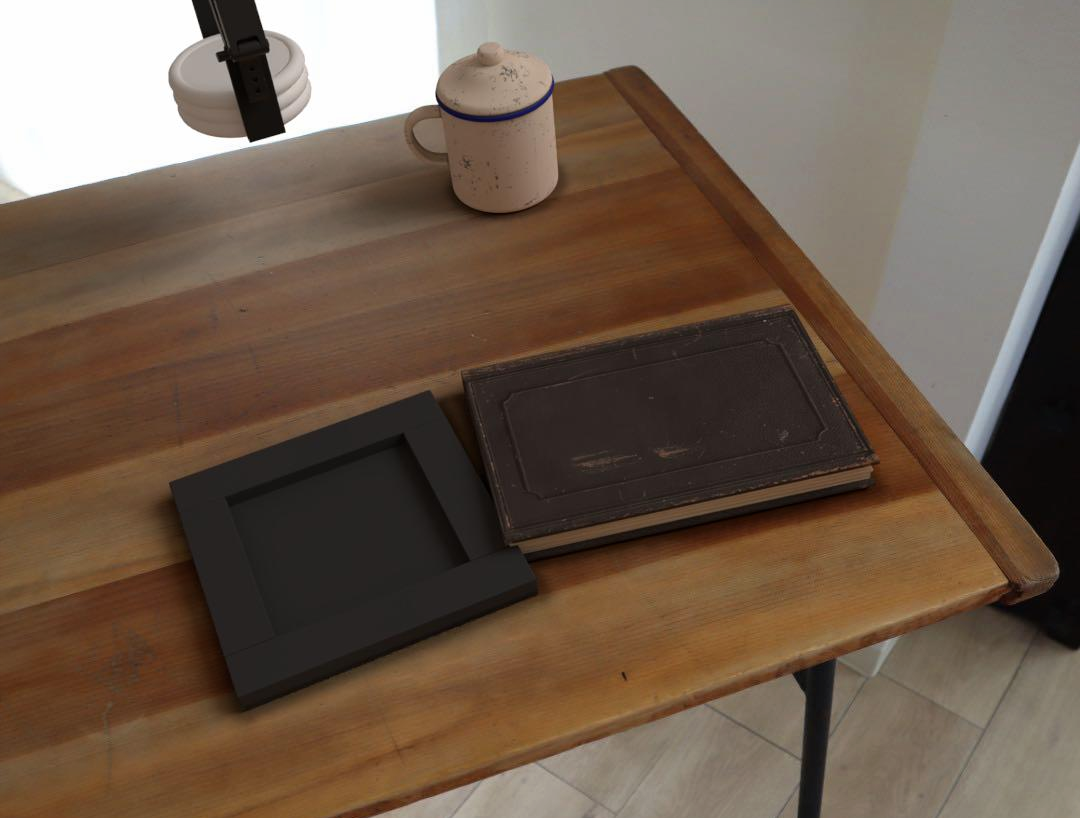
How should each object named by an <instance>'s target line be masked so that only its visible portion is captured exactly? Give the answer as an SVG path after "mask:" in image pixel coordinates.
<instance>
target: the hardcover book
mask: <svg viewBox="0 0 1080 818" xmlns="http://www.w3.org/2000/svg"><path fill="white" fill-rule="evenodd" d="M460 377H461V382H462V387H463V388H462V389H463V392H464V397H465V400H466V404H467V407H468V412H469V417H470V421H471V424H472V427H473V433H474V436H475V441H476V444H477V448H478V451H479V456H480V461H481V463H482V468H483V471H484V475H485V479H486V483H487V488H488V492H489V495H490V496H491V498H492V500H493V502H494V504H495V508H496V512H497V516H498V519H499V523H500V527H501V531H502V535H503V539H504V543H505V545H510V547H511V546H515V545H518V546H519V548H520V550H521V552H522V553H523V555H524V557H525V559H526V560H527V562H530V561H534V560H540V559H544V558H545V559H546V558H550V557H553V556H558V555H563V554H567V553H572V552H576V551H581V550H585V549H590V548H594V547H595V548H596V547H600V546H604V545H609V544H614V543H617V542H622V541H626V540H631V539H636V538H642V537H645V536H650V535H655V534H659V533H663V532H664V533H665V532H668V531H673V530H677V529H683V528H686V527H691V526H696V525H701V524H705V523H709V522H715V521H719V520H723V519H727V518H732V517H737V516H742V515H746V514H750V513H755V512H760V511H763V510H770V509H774V508H778V507H783V506H786V505H792V504H796V503H801V502H805V501H810V500H815V499H820V498H823V497H829V496H833V495H837V494H842V493H847V492H852V491H856V490H860V489H864V488H870V487H874V486H876V484H877V483H876V481H875V479H874V477H873V475H872V472H873V471H874V468H873V467H872V466H877V465H880V463H881V460H880V459H879V457H878V455H877V453H876V451H875V449H874V448H873V446H872V444H871V443H870V441H869V439H868V438H867V437H868V436H867V435H866V434H865V432H864V430H863V429H862V427H861V425H860V423H859V421H858V420H857V418H856V416H855V414H854V413H853V411H852V409H851V407H850V406H849V403H848V402H847V400H846V398H845V397H844V395H843V393H842V391H841V390H840V388H839V386H838V384H837V382H836V381H835V379H834V377H833V376H832V374H831V372H830V370H829V369H828V367H827V365H826V363H825V362H824V359H823V357H822V356H821V354H820V353H819V351H818V349H817V347H816V345H815V344H814V342H813V340H812V338H811V337H810V336H809V333H808V332H807V330H806V328H805V326H804V325H803V322H802V321H801V319H800V317H799V316H798V314H797V312H796V310H795V309H794V306H793V305H792V304H791V303H783V304H779V305H774V306H769V307H765V308H764V307H763V308H760V309H755V310H749V311H746V312H745V311H744V312H739V313H735V314H731V315H724V316H720V317H716V318H715V317H714V318H711V319H706V320H705V319H704V320H702V321H697V322H692V323H686V324H681V325H677V326H672V327H667V328H663V329H657V330H652V331H648V332H643V333H637V334H633V335H632V334H631V335H628V336H624V337H618V338H613V339H609V340H603V341H600V342H595V343H589V344H585V345H580V346H575V347H570V348H565V349H560V350H556V351H550V352H545V353H540V354H536V355H531V356H527V357H521V358H516V359H511V360H506V361H501V362H497V363H491V364H487V365H483V366H477V367H473V368H469V369H468V368H467V369H463V370H461V371H460Z"/></svg>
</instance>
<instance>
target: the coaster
mask: <svg viewBox="0 0 1080 818" xmlns="http://www.w3.org/2000/svg"><path fill="white" fill-rule="evenodd" d="M263 30H264V33H265V37H266V39H268V42H269V45H270V47H269V48H270V51H269V53H266V57H267V61H268V65H269V68H270V72H271V76H272V80H273V84H274V88H275V92H276V95H277V99H278V103H279V107H280V111H281V115H282V119H283V123H284V126H285V125H287V124H289V123H290V122H292V121H293V120H294V119H296V118H297V117H298V116H299V115H300V114H301V113H302V112H303V111H304V109H306V107H307V106H308V104H309V102H310V100H311V97H312V83H311V81H310V79H309V70H308V67H307V66H306V58H305V57H306V56H305V54H304V52H303V50H302V48H301V46H300V45H299V44H298V43H297V41H295V40H293V39H292V38H290V37H288V36H286V35H284V34H282V33H279V32H276V31H272V30H267V29H263ZM223 47H224V43H223V40H222V38H221V35H220V34H216V35H213V36H210V37H207V38H205V39H203V38H202V39H201V40H198V41H196V42H194V43H192V44H191V45H189V46H188V47H186V48H184V50H182V51H181V52H180V53H179V54H178V55H177V56H176V57H175V59H174V60H173V61H172V63H171V65H170V66H169V68H168V73H167V75H168V76H167V78H168V82H167V83H168V85H169V88H170V90H171V91H172V97H173V100H174V103H175V104H176V105H177V112H178V115H179V117H180V119H181V120H182V122H183V123H184V124H185V125H186V126H187V127H189V128H190V129H192V130H193V131H195V132H197V133H200V134H203V135H206V136H209V137H214V138H222V139H239V138H240V139H241V138H247V135H246V131H245V128H244V124H243V121H242V117H241V114H240V110H239V107H238V103H237V100H236V97H235V93H234V90H233V86H232V83H231V79H230V76H229V72H228V69H227V65H226V62H225V61H224V62H220V63H219V62H218V60H217V57H216V55H215V54H216V52H220V51H224V48H223Z"/></svg>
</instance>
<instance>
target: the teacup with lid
mask: <svg viewBox="0 0 1080 818" xmlns="http://www.w3.org/2000/svg"><path fill="white" fill-rule="evenodd" d="M554 90H555V78H554V75H553V74H552V71H551V69H550V67H549V66H548V65H547V64H546V63H545V61H543V60H542V59H541V58H539V57H537V56H535V55H533V54H531V53H528V52H525V51H520V50H516V49H504V47H503V45H501V43H499V42H495V41H488V42H484V43H482V44H481V45H479V47H478V48H477V50H476V52H475V53H471V54H469V55H466V56H463V57H461V58H460V59H458V60H456V61H454V62H452V63H451V64H450V65H448V66H447V67H446V68H445V69H444V70H443V71H442V72H441V74H440V76H439V77H438V79H437V82H436V86H435V92H434V95H435V100H436V103H437V104H427V105H422V106H419V107H416V108H415V109H413V110H412V111H411V112H410V113H409V114H408V115H407V117H406V118H405V121H404V126H403V135H404V139H405V143H406V144H407V147H408V149H409V150H410V152H411V154H413V155H414V156H415V157H416V158H417V159H418V160H420V161H421V162H422V163H425V164H427V165H430V166H434V167H449V171H450V176H451V183H452V188H453V189H452V190H453V191H454V194H455V196H456V197H457V198H458V199H459V200H460V201H461V203H463V204H465V205H466V206H468V207H470V208H472V209H474V210H476V211H481V212H484V213H485V212H486V213H491V214H492V213H494V214H506V213H514V212H519V211H523V210H526V209H528V208H531V207H533V206H536V205H537V204H539V203H541V202H543V201H544V200H545V199H547V198H548V197H549V196H550V195H551V193H553V191H555V188H556V187H557V184H558V182H559V165H558V152H557V142H556V140H557V139H556V128H555V116H554V115H555V113H554V102H553V92H554ZM429 119H430V120H431V119H441V120H442V125H443V132H444V133H443V134H444V139H445V144H446V146H445V147H446V152H435V151H431V150H429V149H427V148H425V147H424V146H423V145H422V144H421V142H419V141H418V139H417V138H416V137H417V136H415V133H414V127H415V126H416V125H418V124H419V123H420V122H422V121H424V120H429Z"/></svg>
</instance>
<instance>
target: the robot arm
mask: <svg viewBox="0 0 1080 818" xmlns="http://www.w3.org/2000/svg"><path fill="white" fill-rule="evenodd" d="M191 3H192V6H193V10H194V13H195V17H196V20H197V23H198V26H199V30H200V34H201V37H202V39H205V38H207V37H210V36H213V35H216V34H220V35H221V38H222V40H223V43H224V47H223V48H224V51H220V52H216V54H215V55H216V57H217V60H218V62H219V63H220V62H224V61H225V62H226V65H227V69H228V72H229V76H230V79H231V83H232V86H233V90H234V93H235V97H236V100H237V103H238V107H239V110H240V114H241V117H242V121H243V124H244V128H245V131H246V135H247V137H246V138H247V140H248V142H249V144H251V143H254V142H258V141H262V140H265V139H268V138H269V139H270V138H272V137H275V136H279V135H282V134H285V133H287V131H286V126H285V125H284V123H283V119H282V115H281V111H280V107H279V103H278V99H277V95H276V92H275V88H274V84H273V80H272V76H271V72H270V68H269V65H268V61H267V57H266V53H269V51H270V48H269V47H270V45H269V42H268V39H266V37H265V33H264V30H265V29H264V27H263V23H262V20H261V17H260V16H261V15H260V13H259V10H258V7H257V4H256V3H257V2H256V0H191Z"/></svg>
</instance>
